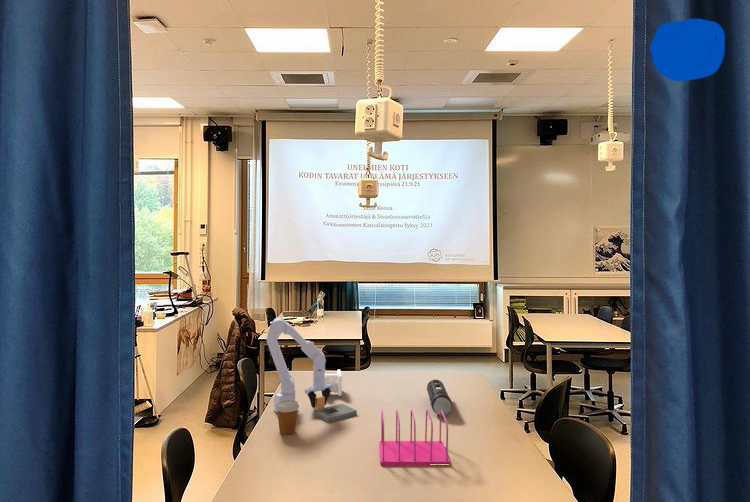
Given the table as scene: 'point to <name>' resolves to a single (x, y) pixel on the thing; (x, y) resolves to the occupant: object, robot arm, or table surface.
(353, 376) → the table surface
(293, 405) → the disposable coffee cup
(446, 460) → the file sorter
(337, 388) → the cable organizer
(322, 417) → the socket plate
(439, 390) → the perforated grey cylinder
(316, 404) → the orange rectangular block
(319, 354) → the robot arm
